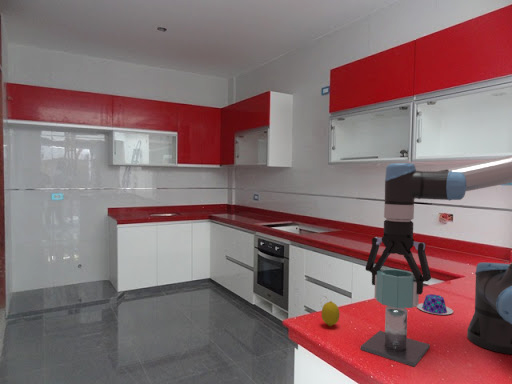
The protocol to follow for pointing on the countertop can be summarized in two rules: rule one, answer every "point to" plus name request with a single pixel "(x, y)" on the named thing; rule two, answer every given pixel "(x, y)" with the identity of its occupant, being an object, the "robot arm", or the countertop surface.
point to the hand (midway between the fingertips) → (395, 301)
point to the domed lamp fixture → (396, 340)
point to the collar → (395, 288)
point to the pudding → (434, 305)
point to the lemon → (330, 313)
